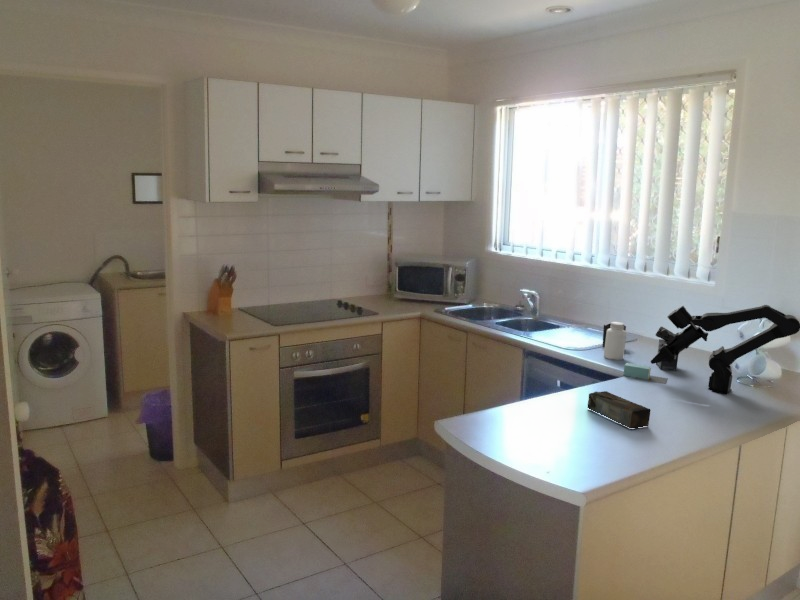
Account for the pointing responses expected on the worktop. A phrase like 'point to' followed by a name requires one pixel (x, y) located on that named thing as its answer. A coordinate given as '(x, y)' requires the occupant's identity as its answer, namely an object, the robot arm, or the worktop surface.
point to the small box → (666, 364)
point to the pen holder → (606, 331)
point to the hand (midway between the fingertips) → (651, 362)
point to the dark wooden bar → (619, 409)
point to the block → (637, 371)
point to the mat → (655, 379)
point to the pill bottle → (615, 341)
